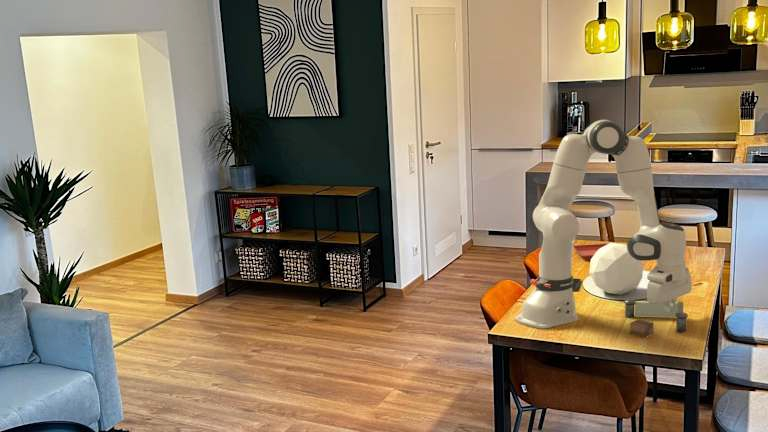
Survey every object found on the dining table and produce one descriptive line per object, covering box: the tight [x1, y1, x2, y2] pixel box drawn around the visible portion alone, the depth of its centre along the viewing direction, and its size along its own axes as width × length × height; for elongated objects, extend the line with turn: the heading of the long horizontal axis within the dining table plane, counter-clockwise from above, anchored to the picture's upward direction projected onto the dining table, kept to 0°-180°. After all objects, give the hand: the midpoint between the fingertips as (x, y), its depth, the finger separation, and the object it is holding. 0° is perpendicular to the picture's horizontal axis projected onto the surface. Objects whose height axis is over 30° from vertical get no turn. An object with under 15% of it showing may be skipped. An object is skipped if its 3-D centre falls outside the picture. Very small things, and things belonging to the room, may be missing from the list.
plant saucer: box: [573, 243, 609, 261], centre depth 320 cm, size 18×18×3 cm
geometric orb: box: [588, 242, 645, 296], centre depth 266 cm, size 19×20×20 cm
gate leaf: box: [634, 300, 684, 318], centre depth 239 cm, size 1×15×5 cm, turn 77°
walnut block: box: [629, 318, 655, 339], centre depth 226 cm, size 5×5×4 cm
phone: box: [572, 277, 582, 293], centre depth 279 cm, size 8×1×15 cm
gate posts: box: [623, 298, 688, 333], centre depth 234 cm, size 4×23×6 cm, turn 37°
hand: (669, 311), depth 236 cm, fingers closed
